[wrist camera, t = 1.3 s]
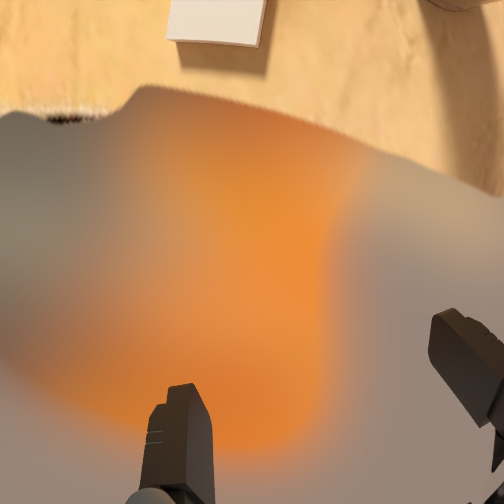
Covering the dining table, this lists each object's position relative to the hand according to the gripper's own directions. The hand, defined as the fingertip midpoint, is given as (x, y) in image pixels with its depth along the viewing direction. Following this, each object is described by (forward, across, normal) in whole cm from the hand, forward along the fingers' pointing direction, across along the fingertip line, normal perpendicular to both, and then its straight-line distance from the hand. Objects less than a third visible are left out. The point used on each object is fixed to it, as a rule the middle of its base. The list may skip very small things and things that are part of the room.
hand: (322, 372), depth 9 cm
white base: (+26, -2, -21) cm, 34 cm away
